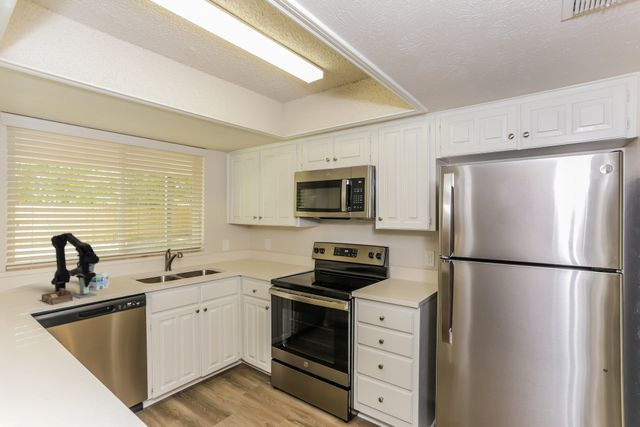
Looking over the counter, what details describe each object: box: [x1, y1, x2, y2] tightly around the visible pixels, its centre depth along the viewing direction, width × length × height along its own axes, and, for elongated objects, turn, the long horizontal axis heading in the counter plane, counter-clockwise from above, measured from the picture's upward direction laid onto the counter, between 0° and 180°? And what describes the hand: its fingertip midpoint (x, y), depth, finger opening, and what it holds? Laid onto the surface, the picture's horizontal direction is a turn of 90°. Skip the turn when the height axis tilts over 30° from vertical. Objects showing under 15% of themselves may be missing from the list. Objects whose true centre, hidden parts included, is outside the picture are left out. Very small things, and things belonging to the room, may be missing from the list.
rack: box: [41, 288, 74, 306], centre depth 204 cm, size 16×10×6 cm, turn 58°
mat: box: [73, 291, 98, 299], centre depth 217 cm, size 12×10×1 cm
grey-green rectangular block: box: [79, 277, 90, 294], centre depth 217 cm, size 6×3×10 cm, turn 58°
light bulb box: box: [89, 272, 110, 291], centre depth 237 cm, size 11×7×11 cm, turn 168°
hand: (84, 286), depth 217 cm, fingers closed on grey-green rectangular block, 5 cm apart
